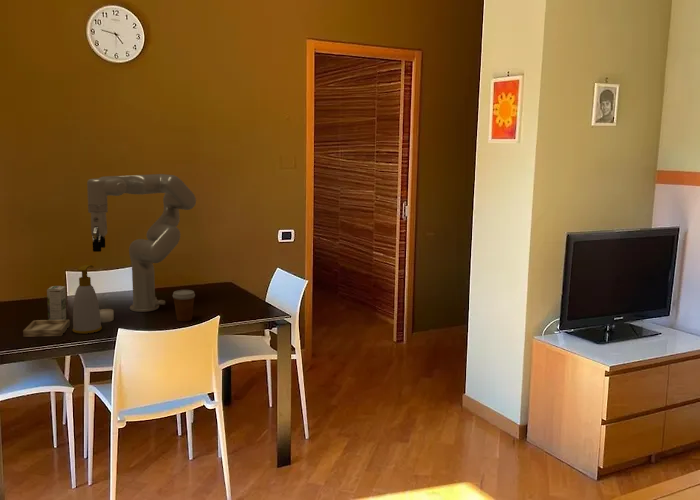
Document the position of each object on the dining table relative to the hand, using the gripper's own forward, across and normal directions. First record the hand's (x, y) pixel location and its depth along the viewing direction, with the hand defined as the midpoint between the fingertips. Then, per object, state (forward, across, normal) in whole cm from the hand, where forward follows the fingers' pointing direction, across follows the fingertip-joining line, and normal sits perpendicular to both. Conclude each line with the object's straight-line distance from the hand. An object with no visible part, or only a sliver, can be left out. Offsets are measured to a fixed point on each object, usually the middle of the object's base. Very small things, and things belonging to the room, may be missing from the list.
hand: (99, 249), depth 283 cm
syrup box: (+31, 0, +18) cm, 35 cm away
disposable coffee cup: (+30, -3, -34) cm, 46 cm away
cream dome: (+30, 0, -2) cm, 30 cm away
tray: (+31, -14, +18) cm, 38 cm away
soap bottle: (+31, -15, +3) cm, 34 cm away
